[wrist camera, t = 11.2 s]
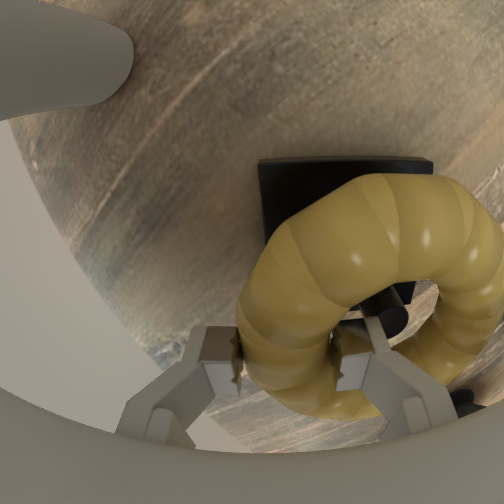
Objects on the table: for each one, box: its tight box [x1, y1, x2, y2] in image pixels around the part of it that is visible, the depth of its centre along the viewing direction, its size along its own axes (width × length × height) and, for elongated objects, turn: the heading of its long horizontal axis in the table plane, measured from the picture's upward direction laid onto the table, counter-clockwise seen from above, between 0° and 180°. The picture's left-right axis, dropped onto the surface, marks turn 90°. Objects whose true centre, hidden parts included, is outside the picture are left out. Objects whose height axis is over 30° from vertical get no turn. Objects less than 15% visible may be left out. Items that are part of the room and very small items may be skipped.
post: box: [258, 156, 433, 339], centre depth 12 cm, size 9×9×7 cm
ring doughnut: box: [236, 173, 504, 421], centre depth 9 cm, size 10×10×3 cm
